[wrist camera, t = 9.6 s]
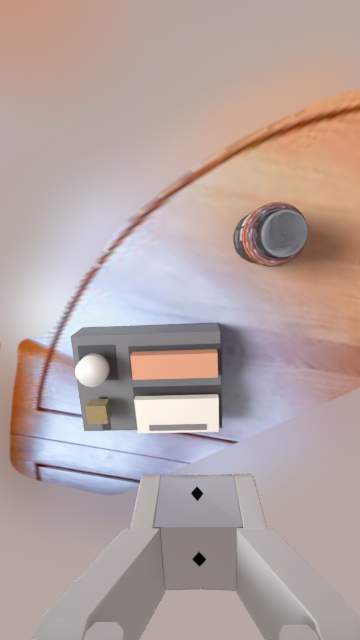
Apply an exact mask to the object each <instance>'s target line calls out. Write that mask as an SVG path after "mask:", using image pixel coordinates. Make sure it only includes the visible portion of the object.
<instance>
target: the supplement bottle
mask: <svg viewBox="0 0 360 640" xmlns="http://www.w3.org/2000/svg"><path fill="white" fill-rule="evenodd" d="M307 237H308V226H307V223H306V221H305V218H304V216H303V215H302V213H301V212H300V211H299V210H298V209H297V208H296V207H294V206H292V205H289V204H287V203H281V202H276V203H270V204H267V205H264V206H262V207H260V208H259V209H257V210H255V211H254V212H252V213H250V214H248V215H247V216H245V217H244V218H243V219H242V220H241V221H240V222H239V224H238V225H237V227H236V229H235V232H234V246H235V249H236V251H237V252H238V254H239V255H240V256H241V257H242V258H243V259H245V260H247V261H249V262H252V263H256V264H260V265H264V266H270V267H275V266H282V265H284V264H287V263H289V262H291V261H292V260H294V259H295V258H296V257H297V256H298V255H299V254H300V253H301V251H302V250H303V248H304V246H305V243H306V240H307Z"/></svg>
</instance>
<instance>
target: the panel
mask: <svg viewBox="0 0 360 640" xmlns="http://www.w3.org/2000/svg"><path fill="white" fill-rule="evenodd" d="M71 342H72V349H73V356H74V362H75V368H76V365H77V364H78V362H79V361H80V360H81V359H82V358H83V357H84V356H86V355H88V354H99V355H101V356H103V357H104V358H105V359H106V360H107V361H108V363H109V367H110V371H109V374H108V376H107V378H106V379H105V381H104V382H103V383H102V384H101V385H99V386H97V387H88V386H85V385H83V384H82V383H80V382H79V380H78V379H77V383H78V390H79V397H80V404H81V411H82V418H83V424H84V431H104V430H138V429H137V421H136V412H135V404H134V399H135V396H167V395H207V394H218V397H219V428H222V408H221V375H222V358H221V343H220V329H219V326H218V323H196V324H169V325H142V326H115V327H88V328H81V329H80V330H79V331H78V332H76V333H75V334H74V335H72V336H71ZM202 349H217V353H218V378H185V379H149V380H133V378H132V368H131V357H130V356H131V354H132V352H141V351H172V350H202ZM91 399H109V402H110V410H111V418H110V420H109V422H108V424H88V421H87V413H86V405H87V403H88V402H89V400H91Z"/></svg>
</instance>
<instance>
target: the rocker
mask: <svg viewBox="0 0 360 640" xmlns="http://www.w3.org/2000/svg"><path fill="white" fill-rule="evenodd" d="M134 404H135V412H136V421H137V429H138V433H179V432H219V397H218V394H207V395H167V396H135V399H134Z"/></svg>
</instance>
